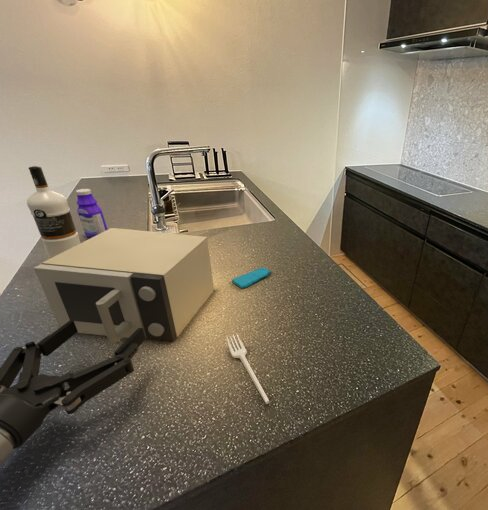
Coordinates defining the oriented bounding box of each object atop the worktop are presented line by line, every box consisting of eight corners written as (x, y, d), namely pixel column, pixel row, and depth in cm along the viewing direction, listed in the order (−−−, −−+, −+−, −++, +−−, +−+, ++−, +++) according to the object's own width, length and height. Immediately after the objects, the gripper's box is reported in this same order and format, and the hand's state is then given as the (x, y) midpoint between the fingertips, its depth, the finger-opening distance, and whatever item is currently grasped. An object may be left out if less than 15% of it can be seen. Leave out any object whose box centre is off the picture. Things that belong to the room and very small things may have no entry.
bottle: (81, 237, 112) (66, 190, 104) (95, 231, 117) (81, 187, 109) (99, 240, 111) (85, 193, 103) (112, 234, 116) (99, 189, 108)
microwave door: (129, 357, 64) (108, 291, 57) (39, 347, 65) (6, 281, 57) (149, 335, 71) (132, 273, 63) (66, 326, 71) (40, 264, 63)
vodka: (96, 259, 99) (66, 164, 85) (72, 273, 91) (34, 171, 77) (69, 256, 99) (34, 162, 86) (42, 270, 91) (-1, 168, 77)
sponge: (274, 274, 97) (264, 265, 101) (241, 287, 89) (230, 277, 92) (274, 277, 98) (264, 269, 101) (241, 291, 90) (230, 281, 93)
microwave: (171, 345, 69) (156, 280, 61) (59, 333, 69) (30, 268, 62) (214, 290, 89) (207, 236, 81) (126, 281, 89) (111, 227, 82)
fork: (259, 409, 56) (259, 402, 55) (225, 343, 70) (224, 337, 69) (276, 401, 58) (275, 394, 57) (239, 338, 72) (238, 332, 71)
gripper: (-87, 443, 42) (52, 337, 61) (88, 463, 42) (174, 350, 61) (-119, 407, 39) (38, 307, 58) (71, 429, 38) (167, 320, 57)
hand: (108, 329), depth 59 cm, fingers open, 13 cm apart
